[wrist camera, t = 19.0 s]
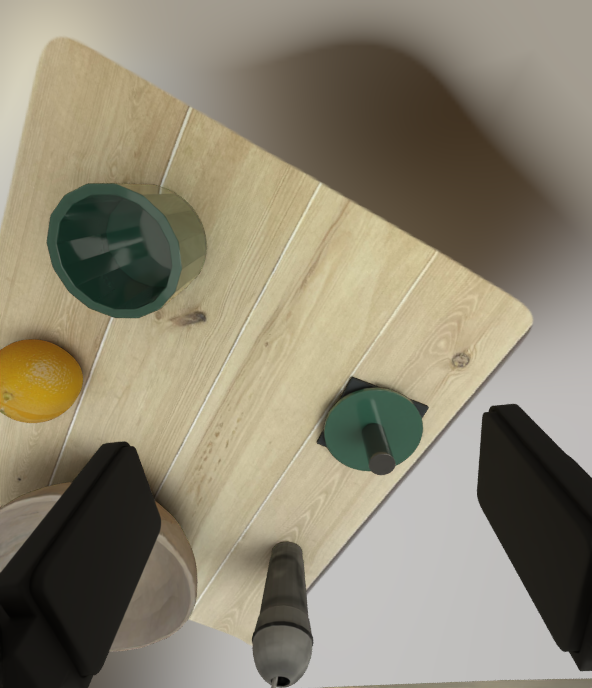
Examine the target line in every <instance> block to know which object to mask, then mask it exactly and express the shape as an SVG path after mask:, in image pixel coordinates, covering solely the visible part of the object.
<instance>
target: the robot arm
mask: <svg viewBox="0 0 592 688" xmlns="http://www.w3.org/2000/svg"><path fill="white" fill-rule="evenodd" d="M477 497H478V501H479V504H480V506H481V508H482V510H483V512H484V514H485V515H486V517H487V519H488V521H489V523H490V525H491V526H492V528H493V530H494V532H495V534H496V535H497V537H498V539H499V541H500V543H501V544H502V546H503V548H504V550H505V552H506V553H507V555H508V557H509V559H510V561H511V563H512V564H513V566H514V568H515V570H516V572H517V574H518V575H519V577H520V579H521V581H522V582H523V584H524V586H525V588H526V590H527V591H528V593H529V595H530V597H531V599H532V601H533V603H534V604H535V606H536V608H537V610H538V611H539V613H540V615H541V617H542V619H543V620H544V622H545V624H546V626H547V628H548V630H549V631H550V633H551V635H552V637H553V639H554V641H555V642H556V644H557V645H558V647H559V648H560V649H561V650H562V651H564V652H567V651H569V653H570V654H571V656H572V658H573V659H574V661H575V663H576V665H577V667H578V668H579V670H580V671H592V478H591V477H590V476H589V475H588V474H587V473H586V472H585V471H584V470H583V469H582V468H581V467H580V466H579V465H578V464H577V463H576V462H575V461H574V460H573V459H572V458H571V457H570V456H568V455H567V454H566V453H565V452H564V451H563V450H562V449H561V448H560V447H558V445H557V444H556V443H555V442H554V441H553V440H552V439H551V438H550V437H549V436H548V435H547V434H546V433H545V432H544V431H543V430H542V429H541V428H540V427H539V426H538V425H537V424H536V423H535V422H534V421H533V420H532V419H531V418H530V417H529V416H528V415H527V414H526V413H525V412H524V411H523V410H522V409H521V408H520V407H519V406H518V405H517V404H507V405H497V406H491V407H490V409H489V412H485V413H484V414H483V417H482V430H481V443H480V457H479V470H478V485H477ZM160 530H161V517H160V514H159V511H158V508H157V506H156V503H155V500H154V497H153V495H152V492H151V489H150V486H149V484H148V481H147V478H146V475H145V473H144V470H143V467H142V465H141V462H140V459H139V456H138V454H137V451H136V449H135V448H134V447H133V446H130V445H129V444H128V443H127V442H114V443H105V444H103V445H102V446H101V447H100V448H99V449H98V450H97V452H96V453H95V454H94V456H93V457H92V458H91V459H90V461H89V462H88V463H87V464H86V466H85V467H84V468H83V469H82V471H81V472H80V473H79V474H78V476H77V477H76V478H75V479H74V481H73V482H72V483H71V484H70V486H69V487H68V488H67V489H66V491H65V492H64V493H63V495H62V496H61V497H60V498H59V500H58V501H57V502H56V503H55V505H54V506H53V507H52V508H51V510H50V511H49V512H48V513H47V515H46V516H45V517H44V518H43V520H42V521H41V522H40V523H39V525H38V526H37V527H36V528H35V530H34V531H33V532H32V533H31V535H30V536H29V537H28V539H27V540H26V541H25V542H24V544H23V545H22V546H21V547H20V549H19V550H18V551H17V552H16V554H15V555H14V556H13V557H12V559H11V560H10V561H9V562H8V564H7V565H6V566H5V567H4V569H3V570H2V571H1V572H0V688H88V686H89V684H90V682H91V679H92V677H93V675H96V674H97V673H99V671H100V670H101V668H102V666H103V665H104V662H105V660H106V658H107V655H108V653H109V650H110V648H111V646H112V643H113V641H114V639H115V636H116V634H117V632H118V629H119V627H120V625H121V622H122V620H123V618H124V615H125V613H126V610H127V608H128V606H129V603H130V601H131V599H132V596H133V594H134V592H135V589H136V587H137V585H138V582H139V580H140V577H141V575H142V573H143V570H144V568H145V566H146V563H147V561H148V559H149V556H150V554H151V552H152V549H153V547H154V544H155V542H156V540H157V537H158V535H159V533H160ZM325 688H592V679H547V680H546V679H545V680H544V679H543V680H498V681H472V682H447V683H421V684H395V685H370V686H347V687H325Z"/></svg>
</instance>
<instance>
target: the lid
mask: <svg viewBox="0 0 592 688" xmlns="http://www.w3.org/2000/svg"><path fill="white" fill-rule="evenodd" d="M422 433H423V423H422V419H421V416H420V413H419V411H418V409H417V408H416V406H415V405H414V404H413V403H412V401H411V400H409V399H408V398H407V397H406V396H404V395H403V394H401V393H399V392H396V391H394V390H390V389H386V388H366V389H361V390H358V391H355V392H352V393H350V394H348V395H346V396H345V397H343V398H342V399H340V400H339V401H338V402H337V403H336V404H335V405H334V406H333V408H332V409H331V410H330V412H329V413H328V416H327V418H326V421H325V425H324V438H325V442H326V445H327V447H328V449H329V451H330V452H331V454H332V455H333V456H334V457H335V458H336V459H337V460H338V461H339V462H341V463H342V464H344V465H346V466H348V467H350V468H353V469H357V470H362V471H372V472H373V473H374V474H377V475H385V474H388V473H390V472H391V471H393V469H394V468H395V466H396V465H398V464H400V463H401V462H403V461H405V460H406V459H407V458H408V457H409V456H410V455H411V454H412V453H413V452H414V451H415V450H416V448H417V446H418V445H419V443H420V440H421V437H422Z"/></svg>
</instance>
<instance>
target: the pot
mask: <svg viewBox="0 0 592 688" xmlns="http://www.w3.org/2000/svg"><path fill="white" fill-rule="evenodd" d="M47 246H48V250H49V254H50V258H51V262H52V266H53V268H54V270H55V272H56V273H57V275H58V276H59V278H60V279H61V281H62V282H63V284H64V285H65V287H66V288H67V290H68V291H69V292H70V293H71V294H72V295H73V296H75V297H76V298H77V299H78V300H80V301H81V302H82V303H83V304H84V305H86V306H87V307H88V308H91V309H92V310H95V311H98V312H100V313H103V314H106V315H108V316H111V317H114V318H140V317H143V316H145V315H147V314H150V313H152V312H155V311H157V310H159V309H161V308H162V307H163V306H164V305H166V304H167V303H168V302H169V301H170V300H172V299H173V298H174V297H175V296H176V295H178V294H179V293H180V292H181V291H183V290H184V289H185V288H186V287H187V286H188V285H189V284H190V283H191V282H192V281H193V280H194V279H195V278H196V277H197V275H198V274H199V273H200V271H201V269H202V267H203V264H204V262H205V257H206V250H207V245H206V236H205V232H204V228H203V226H202V223H201V221H200V219H199V217H198V215H197V214H196V212H195V211H194V210H193V208H192V207H191V206H190V205H189V204H188V203H187V202H186V201H185V200H184V199H183V198H182V197H180V196H179V195H177V194H176V193H174V192H172V191H170V190H168V189H166V188H163V187H160V186H157V185H154V184H119V183H88V184H85V185H83V186H81V187H79V188H78V189H76V190H74V191H72V192H70V193H68V194H66V195H64V197H63V198H62V199H61V201H60V202H59V204H58V205H57V207H56V208H55V210H54V211H53V213H52V214H51V217H50V222H49V229H48V236H47Z"/></svg>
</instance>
